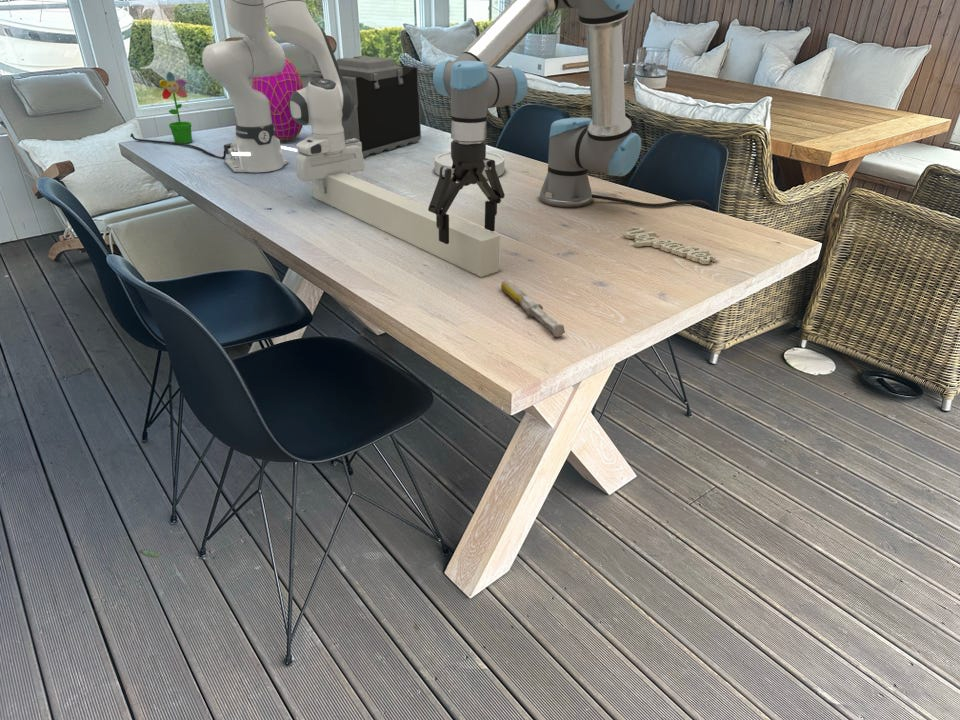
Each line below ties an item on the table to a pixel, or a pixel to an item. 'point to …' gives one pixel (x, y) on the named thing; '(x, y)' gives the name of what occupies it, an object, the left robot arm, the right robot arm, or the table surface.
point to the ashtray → (447, 162)
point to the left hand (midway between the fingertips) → (333, 191)
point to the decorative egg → (281, 99)
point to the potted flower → (178, 129)
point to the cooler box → (380, 102)
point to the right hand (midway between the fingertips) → (467, 235)
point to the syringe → (532, 308)
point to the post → (412, 223)
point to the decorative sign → (669, 245)
